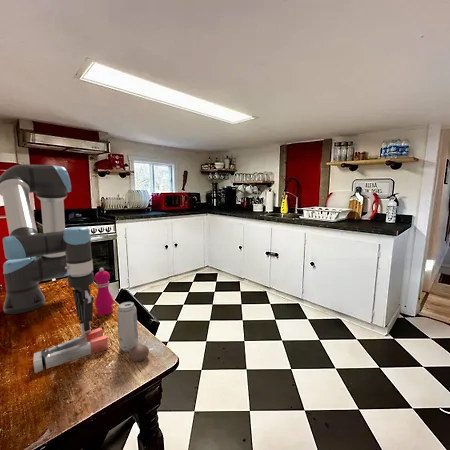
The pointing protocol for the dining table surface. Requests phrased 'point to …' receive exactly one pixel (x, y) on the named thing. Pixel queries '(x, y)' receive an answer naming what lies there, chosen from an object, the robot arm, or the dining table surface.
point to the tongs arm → (77, 340)
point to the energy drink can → (127, 326)
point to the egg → (138, 353)
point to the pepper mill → (103, 293)
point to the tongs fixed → (68, 353)
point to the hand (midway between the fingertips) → (86, 338)
